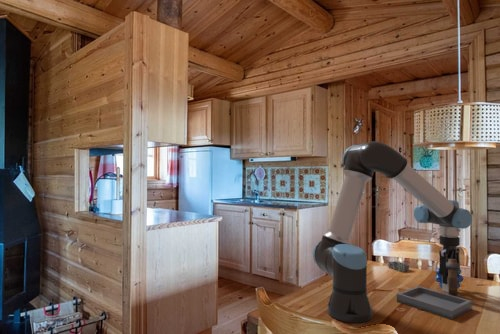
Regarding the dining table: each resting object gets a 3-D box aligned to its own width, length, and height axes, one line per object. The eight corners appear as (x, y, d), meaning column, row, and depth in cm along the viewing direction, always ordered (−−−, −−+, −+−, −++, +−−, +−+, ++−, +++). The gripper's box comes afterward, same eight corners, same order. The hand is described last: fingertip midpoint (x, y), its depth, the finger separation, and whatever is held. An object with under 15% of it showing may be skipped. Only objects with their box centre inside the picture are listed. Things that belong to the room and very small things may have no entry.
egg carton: (385, 267, 178) (385, 259, 178) (396, 266, 180) (396, 258, 180) (400, 272, 168) (400, 264, 168) (411, 271, 170) (411, 263, 170)
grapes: (468, 293, 138) (468, 264, 138) (460, 296, 135) (459, 266, 135) (440, 285, 148) (440, 258, 148) (432, 287, 145) (431, 260, 145)
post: (457, 302, 128) (457, 262, 128) (441, 297, 133) (441, 259, 133) (464, 299, 131) (464, 260, 132) (448, 294, 136) (448, 257, 137)
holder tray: (451, 319, 112) (451, 310, 112) (396, 301, 128) (396, 293, 128) (471, 309, 121) (471, 300, 121) (418, 293, 138) (418, 286, 138)
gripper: (447, 239, 133) (448, 296, 133) (468, 234, 145) (469, 287, 144) (429, 236, 139) (429, 291, 139) (450, 232, 151) (451, 282, 150)
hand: (450, 289), depth 141 cm, fingers closed on grapes, 7 cm apart
